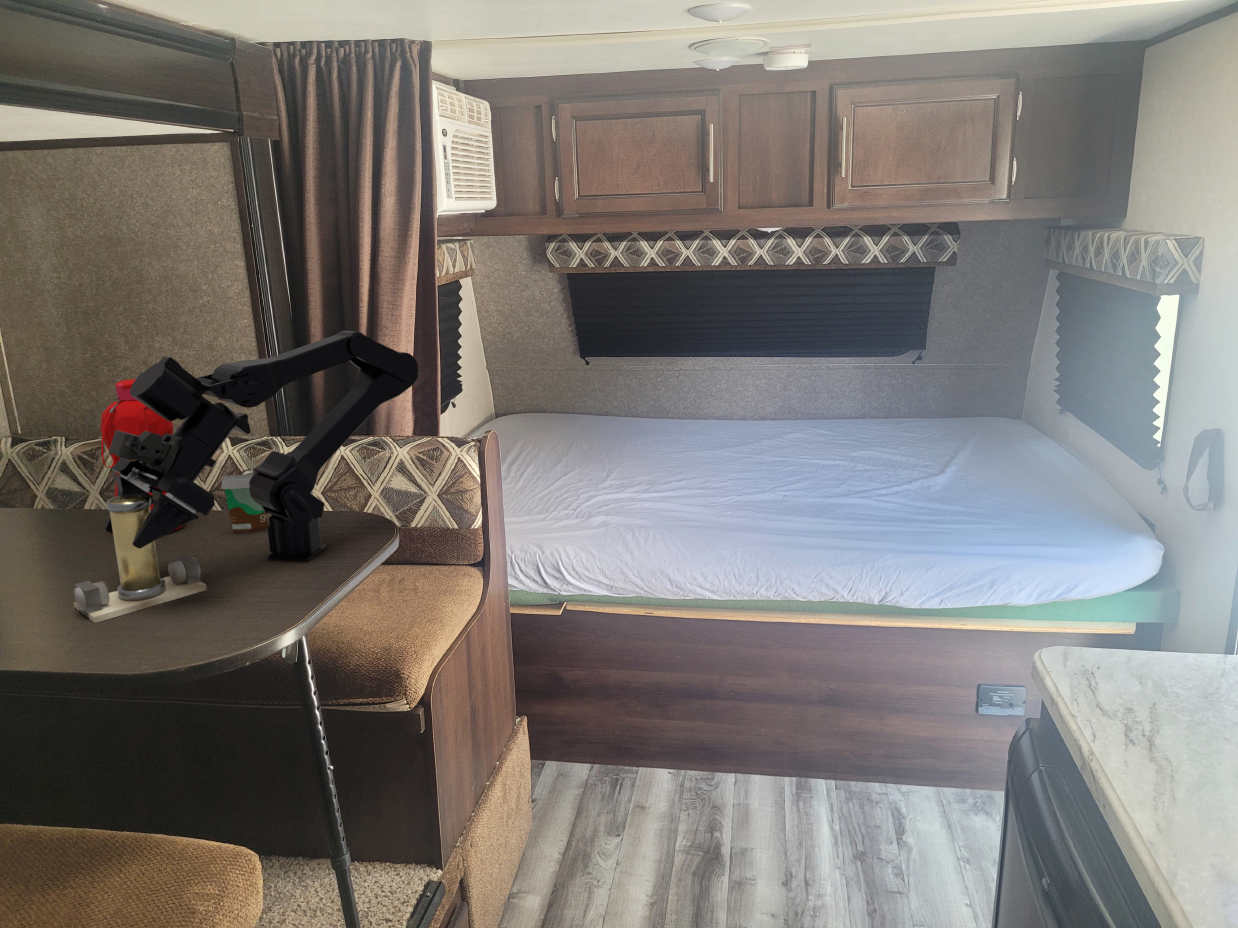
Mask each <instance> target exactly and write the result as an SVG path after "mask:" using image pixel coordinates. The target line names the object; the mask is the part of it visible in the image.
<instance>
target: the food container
mask: <svg viewBox="0 0 1238 928" xmlns="http://www.w3.org/2000/svg"><path fill="white" fill-rule="evenodd" d="M265 459H266V458H264V459H263V458H261V464H262V463H263V462H264V460H265ZM256 467H257V466H256ZM256 467H253V468H247V469H244V470H241V472H239V473H238V474H236V475H222V477H221V478H222V480H221V490H224V493H225V498H226V504H227V508H228V514H229V519H230V524H231V528H232V532H233V533H232V535H233V534H235V535H237V534H239V535H240V534H252V533H253V534H254V533H259V532H264V531H267V527H268V526H269V517H270V516H272V515H271V514H267V513H265V512H264V510H263V508H262V506H261V505H260V504H258V503H256V502H255V501H254V500H253V499H252V497H251V495H250V491H249V487H250V485H249V482H250V479H251V478H252V476H253V475H254V474H255V473H256V471H253V469H254V468H256Z"/></svg>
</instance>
